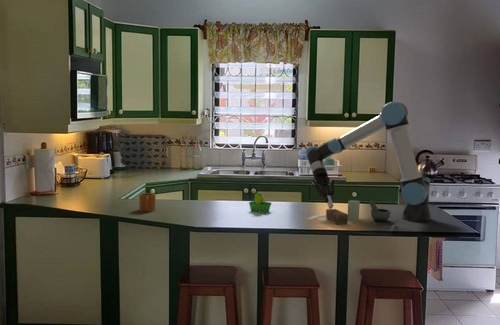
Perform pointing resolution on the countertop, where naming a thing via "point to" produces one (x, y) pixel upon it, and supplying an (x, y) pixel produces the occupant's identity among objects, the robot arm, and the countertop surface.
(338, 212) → the walnut block
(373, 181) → the countertop surface
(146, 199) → the mug
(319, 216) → the maple board
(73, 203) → the countertop surface
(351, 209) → the sage-green block
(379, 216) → the mortar and pestle
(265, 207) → the fruit basket
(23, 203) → the countertop surface
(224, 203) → the countertop surface
